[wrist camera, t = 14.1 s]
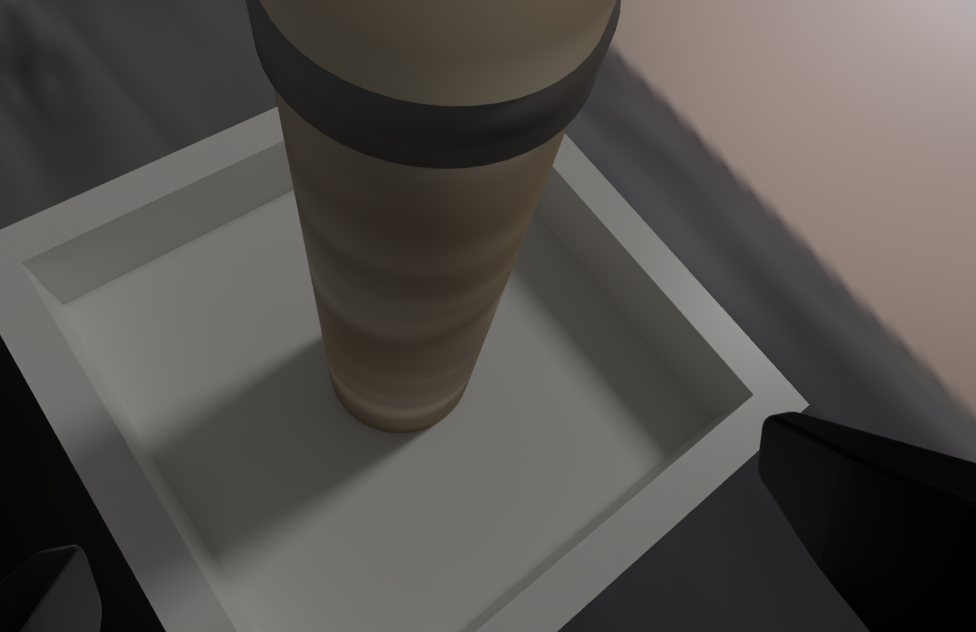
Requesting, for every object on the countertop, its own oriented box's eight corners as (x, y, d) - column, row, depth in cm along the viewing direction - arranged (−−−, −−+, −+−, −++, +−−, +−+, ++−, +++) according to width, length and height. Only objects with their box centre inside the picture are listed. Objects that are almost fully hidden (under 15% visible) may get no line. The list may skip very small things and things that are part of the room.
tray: (747, 434, 19) (809, 404, 16) (311, 817, 14) (296, 865, 11) (454, 94, 22) (465, 23, 20) (19, 307, 17) (-47, 250, 15)
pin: (417, 467, 17) (502, 144, 5) (293, 379, 17) (126, -96, 6) (500, 351, 18) (705, -90, 7) (386, 273, 19) (399, -264, 7)
